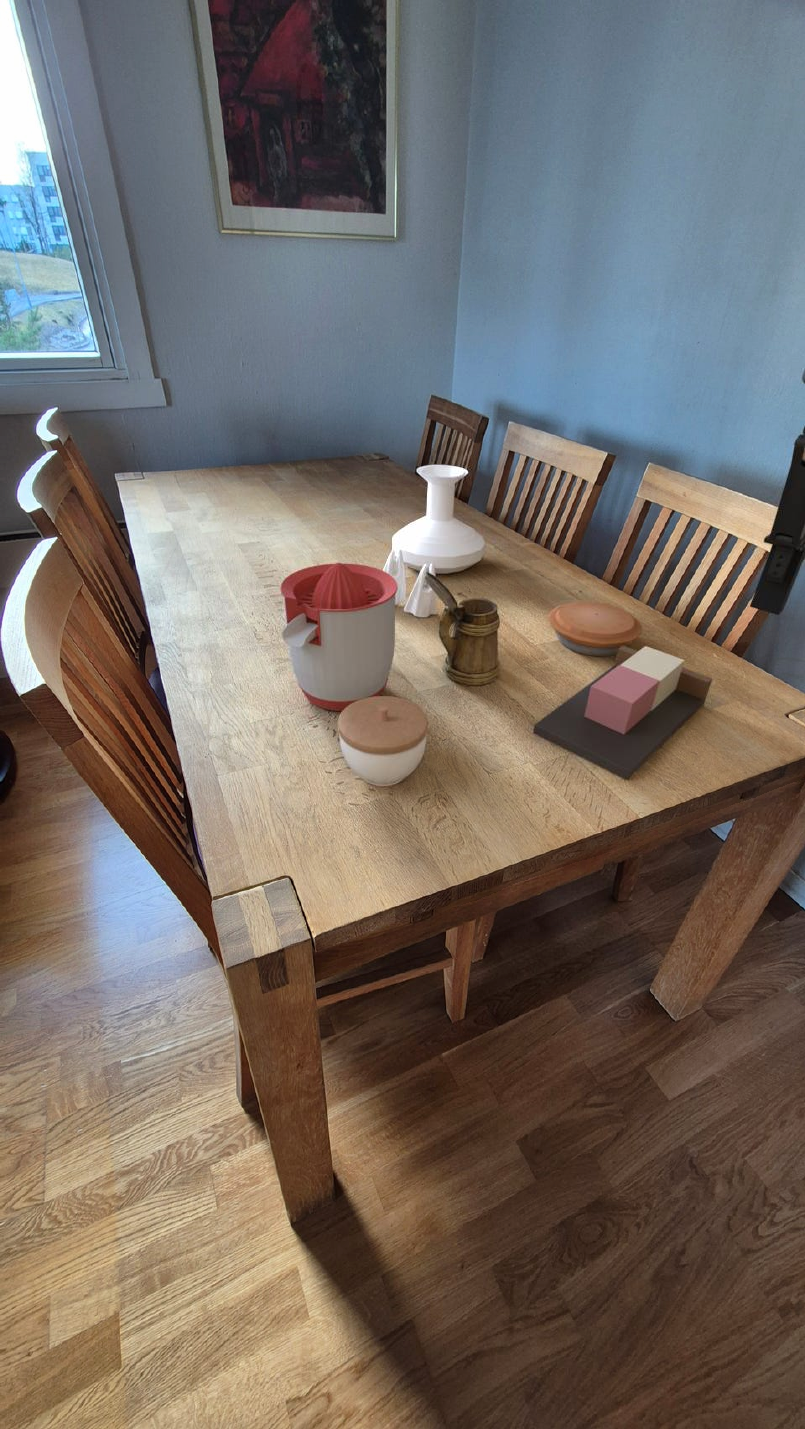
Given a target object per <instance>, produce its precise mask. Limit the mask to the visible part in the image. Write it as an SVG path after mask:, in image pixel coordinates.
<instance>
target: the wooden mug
mask: <svg viewBox="0 0 805 1429" xmlns="http://www.w3.org/2000/svg"><path fill="white" fill-rule="evenodd" d="M426 581H427V583H428V584H429V586H430V587H431V588H432V589H433V591H434V592H435V593H436V594H437V598H439V600H440V601H441V602H442V603H443V604H444V606H445V607H444V609H443V611H442V612H441V615H440V619H439V620H438V621H439V622H438V629H437V630H438V637H439V639H440V642H441V644H442V645H443V647H444V649H445V651H446V653H447V654H446V656H445V657H444V660H443V663H442V671H443V673H444V674H445V675H446V676H447V677H448V678H449V679H450V680H452V681H453V682H455V683H458V684H462V685H465V686H469V687H470V686H482V685H483V686H484V685H488V684H490V683H492V682H494V681H495V680H497V679H498V678H499V677H500V674H501V664H500V663H501V662H500V660H499V635H498V633H499V632H498V631H499V629H500V626H501V621H500V615H499V612H498V604H496V603H495V602H494V601H492V600H491V599H487V598H484V597H483V598H482V597H481V598H480V597H473V598H472V597H471V598H467V599H464V600H461V601H459V603H458V601H457V599H456V598H455V596H454V595H453V594H452V593H451V591H450V590H449V589H448V588H447V587H446V585H444V584H443V582H442V581H441V580H439V579H438V578H437V576H436V577H435V576H434V575H432V574H431V573H429V572H426V575H425V582H426ZM451 627H452V631H451V635H450V630H451Z"/></svg>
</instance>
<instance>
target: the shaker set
mask: <svg viewBox="0 0 805 1429" xmlns="http://www.w3.org/2000/svg"><path fill="white" fill-rule="evenodd" d="M395 557H396V556H395V550H393V549H392V550H391V551H390V554H389V555H388V558H387V560H386V562H385V564H384V567H383V569H382V571H384V572H386V573H388V574H390V575H391V576H392V577H393V578H394V579H395V581H396V583H397V588H398V589H397V592H396V594H395V606H398V605H399V604H400V603H403V602H406V603H405V606H404V607H403V612H405V613H411V614H413V616H414V617H418V618H428V617H429V616H431V615H435V616H436V615H438V596H437V594H436V593H435V592H434V591H433V589H432V588H431V587H430V586H429V584H428V583H427V581H426V579H425V575H426V573H427V572H426V570H427V564H425V565H424V566H423V568H422V569H421V571H419V573H418V576H417V579H416V580H415V583H414V585H413V586H412V590H411V591H410V594H409V596H408V598H407V588H406V587H407V586H406V573H405V563H404V562H403V555H402V551H401V550H398V553H397V557H396V558H395ZM429 573H431V574H432V575H434V576H435V577H436V578H437V576H436V573H435V567H434V565H433V564H431V565H430V568H429Z"/></svg>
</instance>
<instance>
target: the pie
mask: <svg viewBox="0 0 805 1429" xmlns="http://www.w3.org/2000/svg"><path fill="white" fill-rule="evenodd" d="M548 623H549V626H551V628H552V629H553V630H554V634H555V635H556V637H557V639H558V641H559V642H560V643H561V645H563V646H564V647H565V648H567V649H569V650H571V651H573V652H574V653H579V654H582V655H586V656H593V657H607V656H612V655H617V653H618V649H619V648H620V647H622V646H626V647H628V646H629V645H630V644H631V643H633V642H634V641H636V640H638V638H639V637H640V636H641V635H642V633H643V625H642V624H641V622H640V621H639V620H638V619H637V618H636V617H635V616H634V615H632V614H631V613H629V612H628V611H626V610H624V609H622V608H621V607H618V606H615V605H612V604H608V603H604V602H599V601H587V600H585V601H584V600H583V601H574V602H570V603H569V602H568V603H564V604H561V605H558V606H556V607H554V608H553V609H552V610H551V611H550V612H549V614H548Z"/></svg>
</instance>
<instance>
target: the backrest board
mask: <svg viewBox="0 0 805 1429" xmlns="http://www.w3.org/2000/svg"><path fill="white" fill-rule="evenodd" d="M638 651H639V650H636V649H633V648H631V647H628V646H622V647H620V648H619V649H618V653H616V656H615V657H616V658H615V661H614V665H613V666H612V667H610V668H609V669H607V670H606V671H604V673H602V674H601V675H600V676H598V677H597V678H596V679H593V681H591V682H590V683H589V684H587V685H586V686H584V687H583V688H582V689H581V690H579V691H577V693H575V694H574V695H572V696H570V698H568V699H567V700H566V701H564V702H562V704H560V705H559V706H557V707H555V709H554V710H551V712H549V713H548V714H547V715H545V716H544V717H543V718H541V719H540V720H538V722H536V723H534V725H533V726H534V727H533V730H532V734H534V735H536V736H538V737H540V738H542V739H543V740H546V741H548V742H550V743H552V744H554V745H556V746H557V747H560V748H562V749H564V750H566V751H568V752H569V753H571V754H574V755H576V756H577V757H580V758H582V759H584V760H586V761H588V762H590V763H592V764H594V765H596V766H598V767H600V768H602V769H604V770H606V771H608V772H610V773H612V774H614V775H616V776H618V777H620V778H622V779H624V780H625V781H628V780H630V779H631V778H632V777H633V776H634V774H635V773H637V772H638V770H640V769H641V768H642V767H643V766H644V765H645V764H646V762H647V761H648V760H650V758H651V757H653V756H654V755H655V754H656V753H657V752H658V751H659V750H660V749H661V747H663V746H664V744H666V743H667V742H668V740H670V739H671V738H672V737H673V736H674V735H675V734H676V733H677V732H678V731H679V730H680V729H681V728H682V727H683V726H684V725H685V724H686V723H687V722H688V721H689V720H690V719H691V718H692V717H693V716H694V715H695V714H696V713H697V712H698V711H699V710H700V709H701V708H702V707H703V706H704V704H705V701H706V699H707V696H708V693H709V690H710V688H711V685H712V682H713V678H712V677H710V676H707V675H704V674H701V673H698V672H696V671H693V670H690V669H687V668H685V667H682V671H681V674H680V677H679V680H678V683H677V686H676V689H675V690H674V691H673V692H672V693H671V694H670V695H669V696H668V697H666V698H665V699H664V700H663V701H662V702H661V703H660V704H659V705H658V706H657V707H655V708H654V709H653V710H652V711H650V712H648V713H647V714H646V715H645V716H644V717H643V718H642V719H641V720H640V721H639V722H637V723H636V724H635V725H634V726H633V727H632V728H631V729H630V730H629V731H627V732H626V733H625V734H622V733H620V732H617V731H615V730H613V729H611V728H609V727H606V726H604V725H602V724H600V723H598V722H595V721H593V720H591V719H589V718H587V717H585V716H584V715H585V711H586V707H587V702H588V698H589V693H590V689H591V686H592V685H593V684H595V683H596V682H597V681H599V680H600V679H601V678H603V677H604V676H605V675H607V674H608V673H609V672H611V671H612V670H613V669H615V668H616V667H617V666H619V665H621V664H622V663H624V662H625V661H626V660H628V659H629V658H630V657H632V656H633V655H634V654H636V653H637V652H638Z"/></svg>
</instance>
